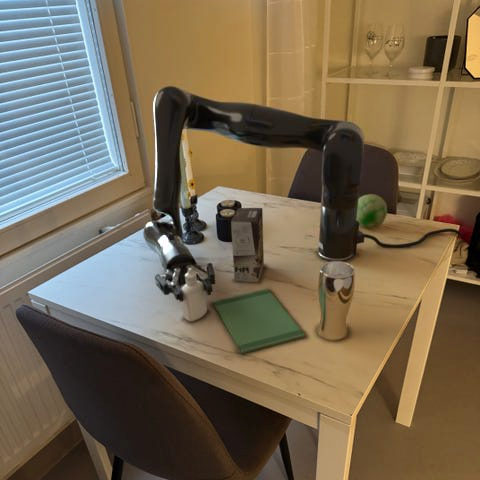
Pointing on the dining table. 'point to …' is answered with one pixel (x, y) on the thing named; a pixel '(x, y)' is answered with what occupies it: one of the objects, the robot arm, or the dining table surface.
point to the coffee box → (247, 244)
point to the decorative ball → (371, 211)
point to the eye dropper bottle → (193, 297)
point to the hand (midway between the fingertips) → (195, 294)
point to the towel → (257, 320)
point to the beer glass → (335, 298)
